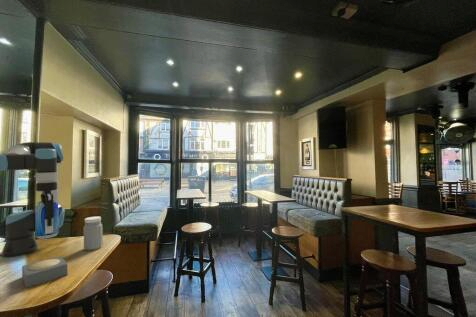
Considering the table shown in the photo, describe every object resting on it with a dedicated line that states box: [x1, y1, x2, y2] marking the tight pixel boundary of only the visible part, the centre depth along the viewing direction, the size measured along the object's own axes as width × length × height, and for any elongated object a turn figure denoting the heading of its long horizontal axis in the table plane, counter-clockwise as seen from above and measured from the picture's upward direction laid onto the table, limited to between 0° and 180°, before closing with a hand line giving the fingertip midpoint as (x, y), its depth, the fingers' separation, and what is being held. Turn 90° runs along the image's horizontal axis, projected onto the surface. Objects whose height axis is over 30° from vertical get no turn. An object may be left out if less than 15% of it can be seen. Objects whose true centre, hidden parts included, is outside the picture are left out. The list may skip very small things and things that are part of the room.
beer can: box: [34, 201, 60, 240], centre depth 105 cm, size 8×8×16 cm
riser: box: [21, 255, 68, 289], centre depth 103 cm, size 14×14×5 cm
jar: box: [82, 215, 104, 252], centre depth 136 cm, size 10×10×18 cm
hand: (47, 231), depth 105 cm, fingers closed on beer can, 8 cm apart
